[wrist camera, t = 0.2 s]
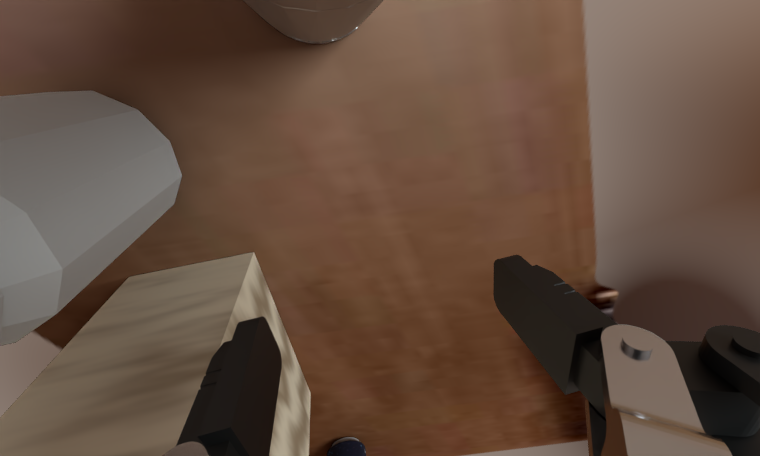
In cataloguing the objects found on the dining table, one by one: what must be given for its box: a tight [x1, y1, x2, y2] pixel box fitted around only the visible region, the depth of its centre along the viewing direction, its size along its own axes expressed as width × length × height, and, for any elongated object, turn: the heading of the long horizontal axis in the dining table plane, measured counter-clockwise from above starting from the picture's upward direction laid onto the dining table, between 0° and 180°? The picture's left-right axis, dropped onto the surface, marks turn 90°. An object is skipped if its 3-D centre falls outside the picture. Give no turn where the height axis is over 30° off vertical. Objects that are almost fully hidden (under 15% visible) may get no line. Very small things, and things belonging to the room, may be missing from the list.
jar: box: [0, 90, 182, 346], centre depth 14 cm, size 10×10×18 cm
